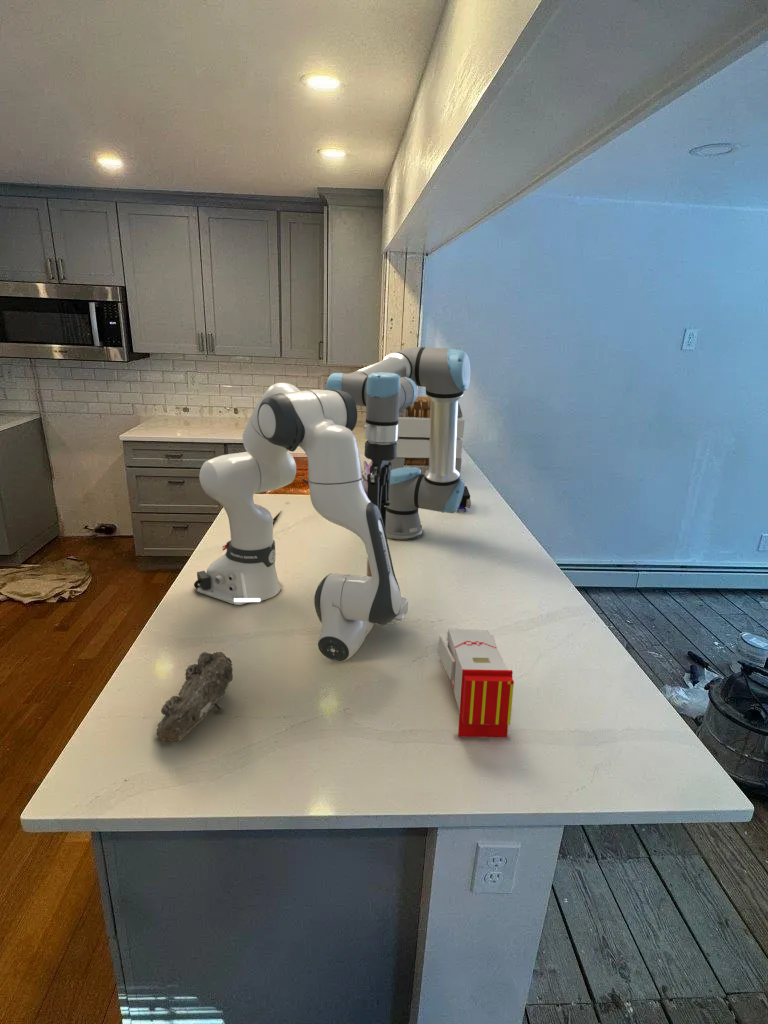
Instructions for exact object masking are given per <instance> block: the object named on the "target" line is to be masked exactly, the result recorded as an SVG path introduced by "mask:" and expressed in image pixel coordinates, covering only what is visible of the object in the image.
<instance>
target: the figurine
mask: <svg viewBox="0 0 768 1024" xmlns="http://www.w3.org/2000/svg"><path fill="white" fill-rule="evenodd" d="M362 464H363V470H362V483H363V487H364V490H365V493H366V495H367V497H368V480H367V475H368V474H370V466H372V460H370V462H369V464H368V462H367V461H366V460H364V461H363V463H362Z"/></svg>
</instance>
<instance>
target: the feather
mask: <svg viewBox="0 0 768 1024" xmlns="http://www.w3.org/2000/svg"><path fill="white" fill-rule="evenodd" d="M281 512H282V510H280V512H279V513H277V514H276V516H275V517H273V526H274V525H275V523H276V521H277V520H278V518H279V516H280V514H281Z"/></svg>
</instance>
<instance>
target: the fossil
mask: <svg viewBox="0 0 768 1024" xmlns="http://www.w3.org/2000/svg"><path fill="white" fill-rule="evenodd" d="M196 662H197V663H193V664H189V665H188V666H187V668H186V669H185V673H184V676H185V677H184V678H185V681H184V683H183V684H182V685H181V688H180V690H179V692H178V695H173V696H172V697H170V699H168V700H166V701H165V703H164V704H163V705H162V707H161V710H160V712H161V714H162V715H163V718H162V719H161V721H159V722H158V723H157V728H156V732H155V733H156V736H157V740H162V741H163V742H164V743H170V742H174V741H181V740H182V739H183V738H184V737H185V736H186V735H187V734H188V733H189V732H191V731H192V730H193V729H194V728H195V727H196V726H197V725H198V724H199V723H200V722H201V721H202V720H203V719H205V718H206V716H207V715H208V712H209V711H210V710H212V709H213V707H215V708H216V709H217V711H221V710H222V707H220V705H218V704H217V701H218V700H219V699H221V698H222V697H223V696H224V695H225V693H226V689H228V687H229V685H230V683H231V682H233V680H234V679H233V678H234V674H233V671H234V670H233V662H232V659H231V658H230V657H228V656H227V655H226V653H224V652H223V651H216V652H215V651H214V652H212V653H211V652H206V651H204V652H203V651H202V652H201V653H200V654H199V656H198V658H197V661H196Z"/></svg>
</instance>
